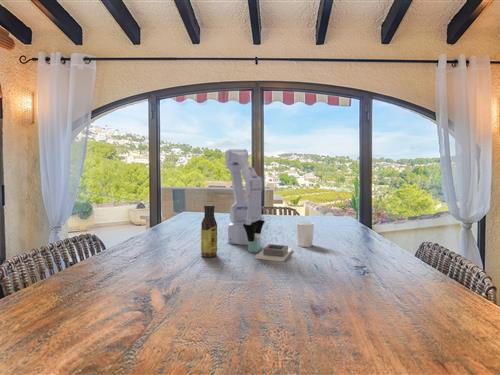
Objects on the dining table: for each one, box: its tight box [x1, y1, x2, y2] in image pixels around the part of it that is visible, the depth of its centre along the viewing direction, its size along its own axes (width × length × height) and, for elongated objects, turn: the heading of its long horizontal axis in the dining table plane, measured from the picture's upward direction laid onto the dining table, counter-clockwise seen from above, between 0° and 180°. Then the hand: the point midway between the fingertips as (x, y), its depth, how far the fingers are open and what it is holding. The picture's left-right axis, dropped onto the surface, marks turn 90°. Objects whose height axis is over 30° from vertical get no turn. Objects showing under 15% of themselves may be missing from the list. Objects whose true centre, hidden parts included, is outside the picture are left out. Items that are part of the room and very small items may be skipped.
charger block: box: [247, 233, 261, 254], centre depth 127 cm, size 4×4×7 cm
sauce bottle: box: [200, 204, 218, 258], centre depth 119 cm, size 7×6×20 cm
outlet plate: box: [254, 243, 294, 262], centre depth 122 cm, size 11×16×4 cm
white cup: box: [295, 221, 315, 248], centre depth 136 cm, size 8×8×10 cm
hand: (254, 239), depth 126 cm, fingers open, 7 cm apart
